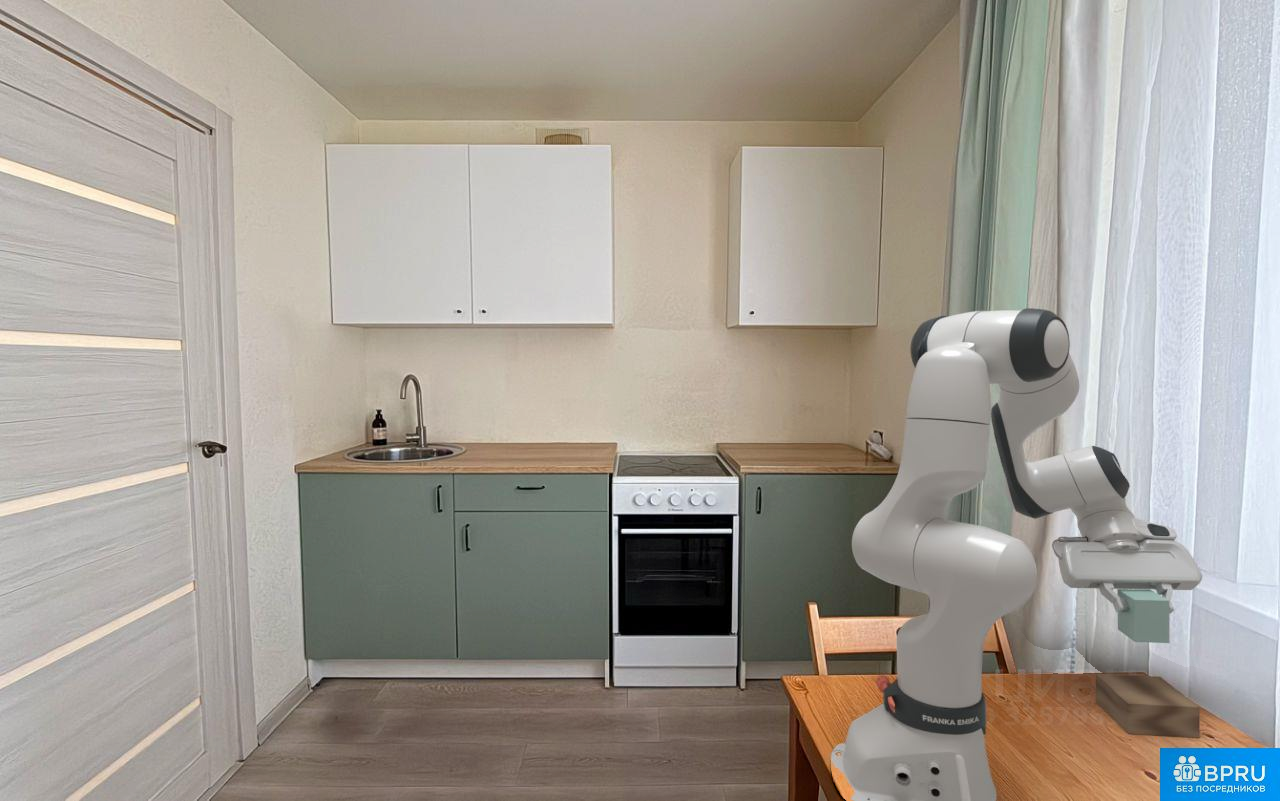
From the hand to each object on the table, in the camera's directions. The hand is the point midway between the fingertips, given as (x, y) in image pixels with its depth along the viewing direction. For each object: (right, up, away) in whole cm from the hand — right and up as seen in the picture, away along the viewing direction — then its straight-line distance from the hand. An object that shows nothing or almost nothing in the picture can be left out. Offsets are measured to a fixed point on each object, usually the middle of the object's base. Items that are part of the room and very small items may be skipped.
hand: (1145, 611), depth 105 cm
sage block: (0, -4, +1) cm, 4 cm away
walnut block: (+1, -18, +1) cm, 18 cm away
